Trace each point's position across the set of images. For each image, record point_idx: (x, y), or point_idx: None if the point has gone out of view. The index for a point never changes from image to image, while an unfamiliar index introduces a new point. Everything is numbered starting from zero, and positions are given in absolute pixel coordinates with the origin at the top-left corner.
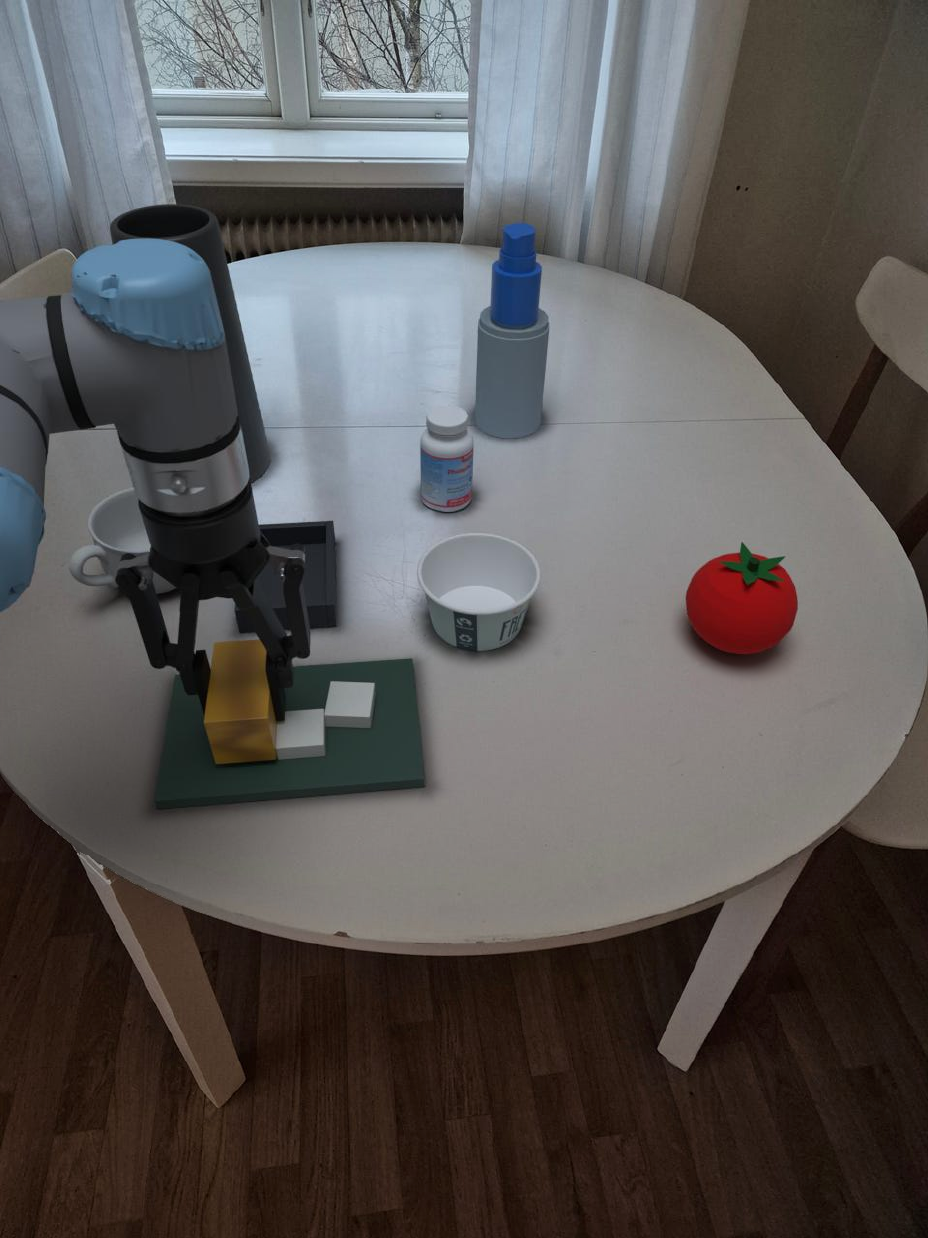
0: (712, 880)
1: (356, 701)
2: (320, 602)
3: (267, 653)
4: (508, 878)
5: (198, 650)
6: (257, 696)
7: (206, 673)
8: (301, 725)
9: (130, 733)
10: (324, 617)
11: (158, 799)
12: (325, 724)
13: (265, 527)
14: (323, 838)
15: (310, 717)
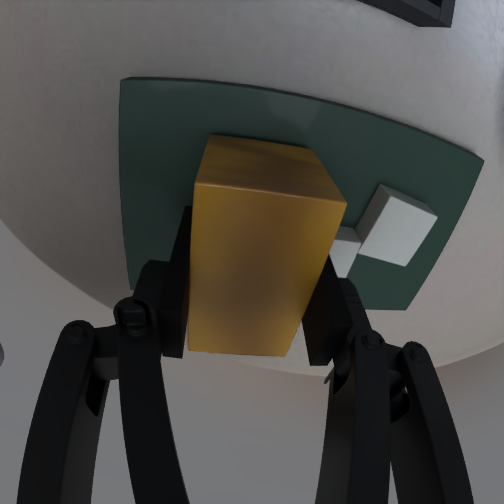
0: (473, 354)
1: (404, 242)
2: (431, 9)
3: (327, 339)
4: None
5: (164, 311)
6: (278, 328)
7: (185, 312)
8: None
9: (76, 170)
10: (416, 18)
11: (134, 289)
12: None
13: None
14: (298, 328)
15: (338, 253)
